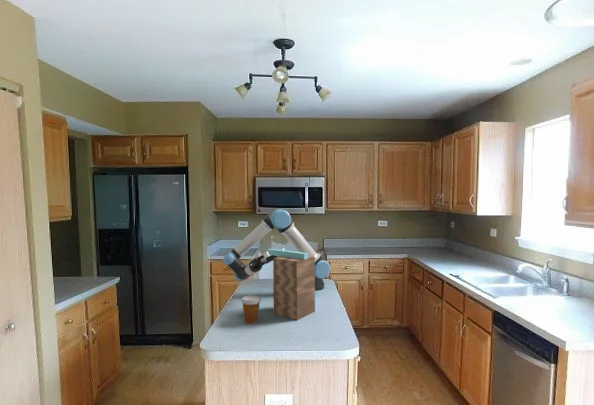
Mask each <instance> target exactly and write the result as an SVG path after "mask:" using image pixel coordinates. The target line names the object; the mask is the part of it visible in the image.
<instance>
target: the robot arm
mask: <svg viewBox="0 0 594 405" xmlns="http://www.w3.org/2000/svg"><path fill="white" fill-rule="evenodd" d="M274 229H276V231H277V232H278V233H279V234H281V235H284V237H285V238H286V239H287V240H288V242H289V243H290V244H291V245H292V247H293V248H294V249H295V250H296V252H303V253H308V256H311V257H315V291H321V290H324V289H325V282H324V280H323V279H325V278H327V277H328V276H329V275H330V273H331V269H332V268H331V265H330V263H329V262H328V261H327V260H326V259H324V257H323V256H322V254H320V253H318V252H316V251H315V250H314V249H313V247H312V246H311V245H310V243H308V241H307V240H306V238H305V237H304V236H303V235H302V234H301V232H300V231H299V230H298V229H297V228H296V226H295V221H294V219H292V217H291V215H290V213H289V212H288V211H287V210H285V209H282V208H275V209H271V211H269V212H268V214H267V215H266V216H265V217H264V218H262V220H261V223H260V224H258V225H257V226H256V227H255V228H254V229H253V230H252V231H251V232H250V233H248V235H246V236H245V237H244V238H243V239H242V240H241V241H240V242H239V243H238V244H237V245H235V247H234V248H233V249H232V250H230V251H229V252H227V253H226V254H225V256H223V258H222V262H223V263H224V265H225V266H227V268H229V269H230V270H231V271H232V272H233V273H234V275H233V276H234V278H235V280H236V281H238V282H243V281H245V280H248V279H249V278H250V277H251V276H255V274H257V272H259V271H261V270H262V268H263V266H265V264H270V263H271V262H272V261H273V258H276V257H281V256H274V255H269V253H268V250H267V251H265V252H263V253H261V255H259V256H257V257H253V259H252V260H251V261H249V262H247V263H246V264H244V263H243V261H241V258H242V257H243V256H244V255H246V253H247V252H248V251H250V249H252V248H253V247H254V246H255V245H256V244H257V243H258V242H259V241H261V240H262V238H264V236H266V235H267V234H268V233H269V232H271V231H273V230H274ZM280 250H285V248H283V247H282V248H281V249H280Z"/></svg>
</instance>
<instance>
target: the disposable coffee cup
mask: <svg viewBox="0 0 594 405" xmlns="http://www.w3.org/2000/svg"><path fill="white" fill-rule="evenodd" d="M241 302H242V309H243V317H244V322H245V324H249V325H250V324H256V323H257V322H258V320H259V312H260V310H259V309H260V303H261V298H260V296H259V295H254V294H253V295H252V294H251V295H245V296H243V297H242V299H241Z"/></svg>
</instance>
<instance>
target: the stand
mask: <svg viewBox="0 0 594 405" xmlns="http://www.w3.org/2000/svg"><path fill="white" fill-rule="evenodd" d="M272 265H273V266H272V267H273V268H272V271H273V272H272V273H273V275H272V276H273V277H272V278H273V281H272V282H273V286H272V287H273V314H274V315H278V316H281V317H283V318H288V319H291V320H295V321H299V320H301V319H303V318H304V317H307V316H309V315H311V314H313V313H315V312H316V290H315V257H311V256H308V259H305V260H304V259H297V258H289V257H282V256H280V257H276V258H273V262H272Z"/></svg>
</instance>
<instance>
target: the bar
mask: <svg viewBox="0 0 594 405" xmlns="http://www.w3.org/2000/svg"><path fill="white" fill-rule="evenodd" d="M267 251H268V253H269V256H271V255H274V256H280V257H281V256H282V257H289V258H297V259H304V260H305V259H308V253H303V252H298V251H292V250H286V249H284V250H281V249H277V248H269V249H267Z"/></svg>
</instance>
